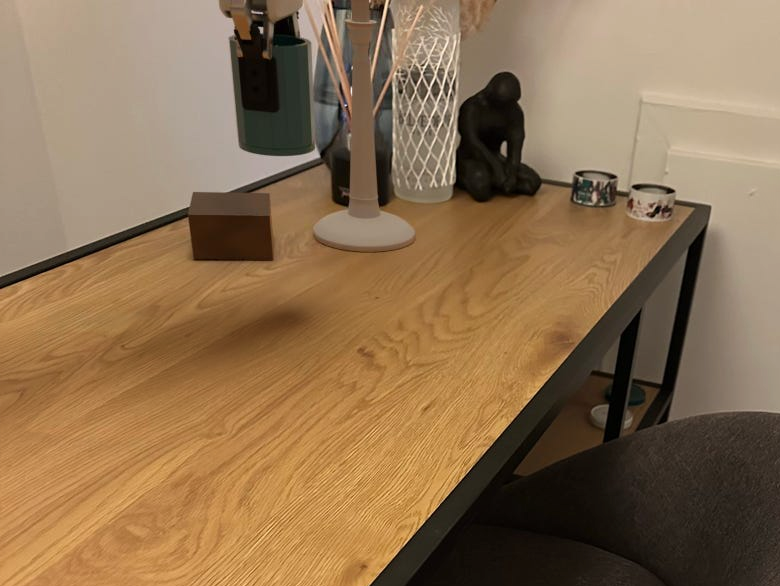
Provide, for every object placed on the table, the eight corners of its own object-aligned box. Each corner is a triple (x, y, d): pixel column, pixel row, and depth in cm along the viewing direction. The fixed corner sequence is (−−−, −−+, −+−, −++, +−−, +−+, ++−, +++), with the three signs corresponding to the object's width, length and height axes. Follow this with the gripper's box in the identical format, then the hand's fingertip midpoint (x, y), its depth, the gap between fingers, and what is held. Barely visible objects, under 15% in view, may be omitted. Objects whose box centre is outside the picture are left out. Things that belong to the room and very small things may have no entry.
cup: (228, 151, 85) (217, 41, 79) (251, 135, 90) (242, 30, 85) (304, 159, 84) (298, 49, 79) (323, 142, 90) (319, 37, 84)
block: (193, 260, 108) (187, 214, 105) (198, 235, 115) (192, 191, 112) (273, 260, 109) (269, 215, 106) (273, 236, 116) (269, 193, 113)
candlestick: (349, 214, 125) (342, -66, 106) (433, 232, 121) (440, -55, 102) (292, 237, 116) (272, -64, 97) (380, 258, 112) (378, -52, 93)
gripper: (243, -156, 80) (261, 81, 92) (169, -161, 67) (200, 117, 78) (329, -149, 80) (336, 89, 91) (271, -153, 67) (288, 126, 78)
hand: (273, 100), depth 85 cm, fingers closed on cup, 7 cm apart
